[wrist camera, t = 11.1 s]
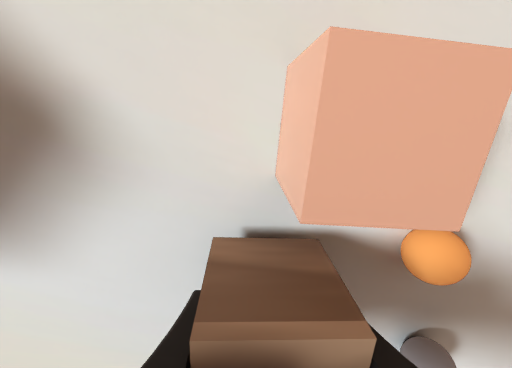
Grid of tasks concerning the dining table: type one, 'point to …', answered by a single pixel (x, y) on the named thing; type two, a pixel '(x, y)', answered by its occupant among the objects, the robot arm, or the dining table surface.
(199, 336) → the brown block
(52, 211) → the dining table surface
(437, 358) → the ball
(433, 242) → the orange ball
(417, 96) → the salmon pink block
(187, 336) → the robot arm
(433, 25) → the dining table surface
